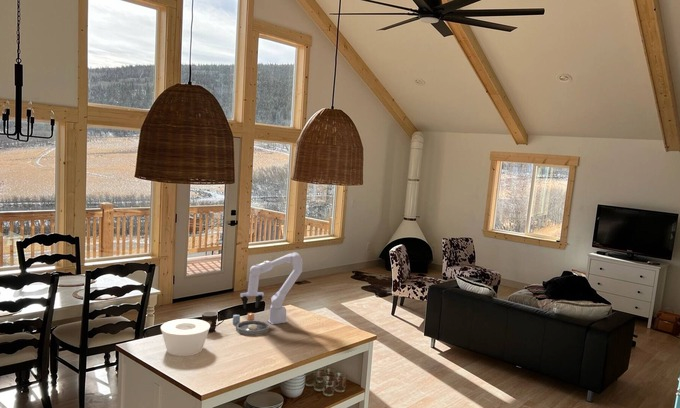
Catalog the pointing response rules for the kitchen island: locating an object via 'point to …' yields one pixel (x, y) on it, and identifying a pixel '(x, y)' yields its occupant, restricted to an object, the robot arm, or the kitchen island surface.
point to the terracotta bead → (250, 316)
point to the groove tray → (252, 327)
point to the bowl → (185, 336)
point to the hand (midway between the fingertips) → (250, 308)
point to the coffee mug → (211, 319)
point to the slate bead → (236, 319)
